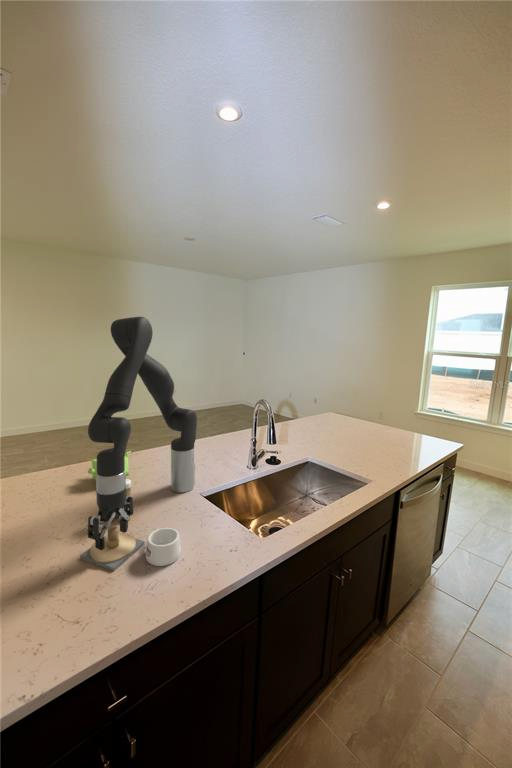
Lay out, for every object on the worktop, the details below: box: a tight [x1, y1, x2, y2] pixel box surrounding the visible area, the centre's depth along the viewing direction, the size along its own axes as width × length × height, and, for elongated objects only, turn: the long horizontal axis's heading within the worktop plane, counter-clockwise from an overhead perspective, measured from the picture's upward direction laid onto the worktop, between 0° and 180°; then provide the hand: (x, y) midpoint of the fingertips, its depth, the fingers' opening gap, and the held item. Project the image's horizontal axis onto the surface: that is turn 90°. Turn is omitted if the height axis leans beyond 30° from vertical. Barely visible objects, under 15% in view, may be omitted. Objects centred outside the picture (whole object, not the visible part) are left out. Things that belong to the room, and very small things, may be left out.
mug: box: [145, 527, 182, 567], centre depth 91 cm, size 12×10×6 cm
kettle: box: [87, 450, 132, 481], centre depth 134 cm, size 15×14×11 cm
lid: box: [89, 526, 136, 563], centre depth 91 cm, size 12×12×6 cm
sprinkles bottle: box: [117, 478, 133, 522], centre depth 107 cm, size 5×5×13 cm
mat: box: [79, 537, 145, 572], centre depth 92 cm, size 12×12×1 cm
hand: (112, 539), depth 91 cm, fingers open, 8 cm apart
